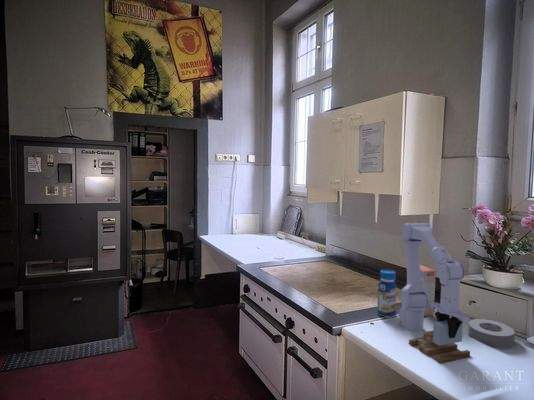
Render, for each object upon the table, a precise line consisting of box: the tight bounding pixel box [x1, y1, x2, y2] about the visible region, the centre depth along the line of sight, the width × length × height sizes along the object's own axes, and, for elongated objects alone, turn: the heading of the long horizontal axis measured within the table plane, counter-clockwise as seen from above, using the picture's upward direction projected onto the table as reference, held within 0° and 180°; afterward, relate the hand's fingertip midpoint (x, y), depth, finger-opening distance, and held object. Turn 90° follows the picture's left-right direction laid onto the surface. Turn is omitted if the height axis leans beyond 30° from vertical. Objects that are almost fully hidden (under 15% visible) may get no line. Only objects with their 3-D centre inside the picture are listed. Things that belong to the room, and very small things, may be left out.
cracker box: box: [406, 264, 437, 317], centre depth 167 cm, size 14×6×21 cm, turn 9°
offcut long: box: [418, 339, 434, 346], centre depth 132 cm, size 3×9×2 cm, turn 110°
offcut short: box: [422, 330, 433, 342], centre depth 132 cm, size 3×6×2 cm, turn 110°
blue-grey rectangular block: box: [433, 320, 464, 346], centre depth 124 cm, size 3×10×7 cm, turn 110°
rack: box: [408, 336, 472, 365], centre depth 128 cm, size 15×14×2 cm
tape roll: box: [467, 318, 516, 349], centre depth 140 cm, size 15×15×5 cm
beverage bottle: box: [376, 269, 398, 319], centre depth 162 cm, size 8×8×20 cm
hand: (447, 335), depth 124 cm, fingers closed on blue-grey rectangular block, 3 cm apart
